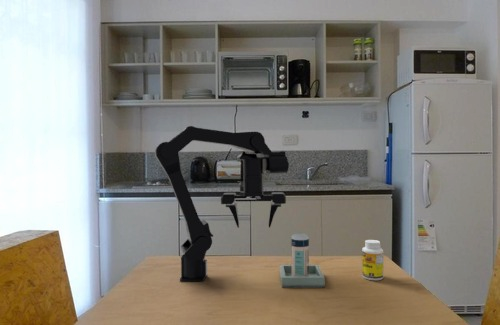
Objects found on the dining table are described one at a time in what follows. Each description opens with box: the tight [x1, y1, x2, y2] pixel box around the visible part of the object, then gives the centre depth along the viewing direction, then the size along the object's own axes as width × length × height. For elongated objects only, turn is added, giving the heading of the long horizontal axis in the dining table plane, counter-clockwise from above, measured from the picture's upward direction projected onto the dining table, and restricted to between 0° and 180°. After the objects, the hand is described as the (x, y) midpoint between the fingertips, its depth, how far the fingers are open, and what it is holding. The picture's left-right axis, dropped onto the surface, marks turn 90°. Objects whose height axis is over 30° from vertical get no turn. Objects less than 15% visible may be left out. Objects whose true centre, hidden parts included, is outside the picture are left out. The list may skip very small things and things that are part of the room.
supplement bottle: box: [361, 239, 384, 281], centre depth 102 cm, size 6×6×10 cm
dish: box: [279, 264, 326, 289], centre depth 101 cm, size 11×11×3 cm
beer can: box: [290, 232, 310, 276], centre depth 100 cm, size 5×5×12 cm
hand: (253, 227), depth 109 cm, fingers open, 9 cm apart
